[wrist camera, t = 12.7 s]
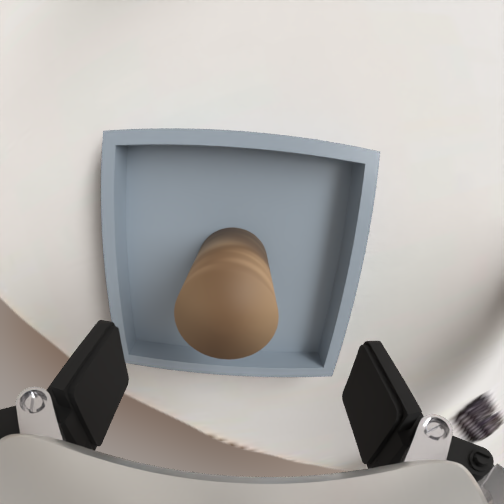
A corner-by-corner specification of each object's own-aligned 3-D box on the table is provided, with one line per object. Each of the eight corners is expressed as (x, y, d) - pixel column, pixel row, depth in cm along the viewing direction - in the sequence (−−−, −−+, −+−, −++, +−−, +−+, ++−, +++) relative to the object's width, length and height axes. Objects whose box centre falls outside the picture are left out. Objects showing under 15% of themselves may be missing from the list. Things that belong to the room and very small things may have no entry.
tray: (362, 151, 20) (380, 151, 17) (324, 355, 25) (332, 376, 22) (120, 133, 19) (103, 131, 16) (129, 341, 24) (119, 361, 21)
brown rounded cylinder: (270, 230, 20) (285, 274, 13) (263, 294, 22) (271, 362, 14) (199, 224, 20) (173, 265, 13) (197, 289, 22) (176, 354, 14)
